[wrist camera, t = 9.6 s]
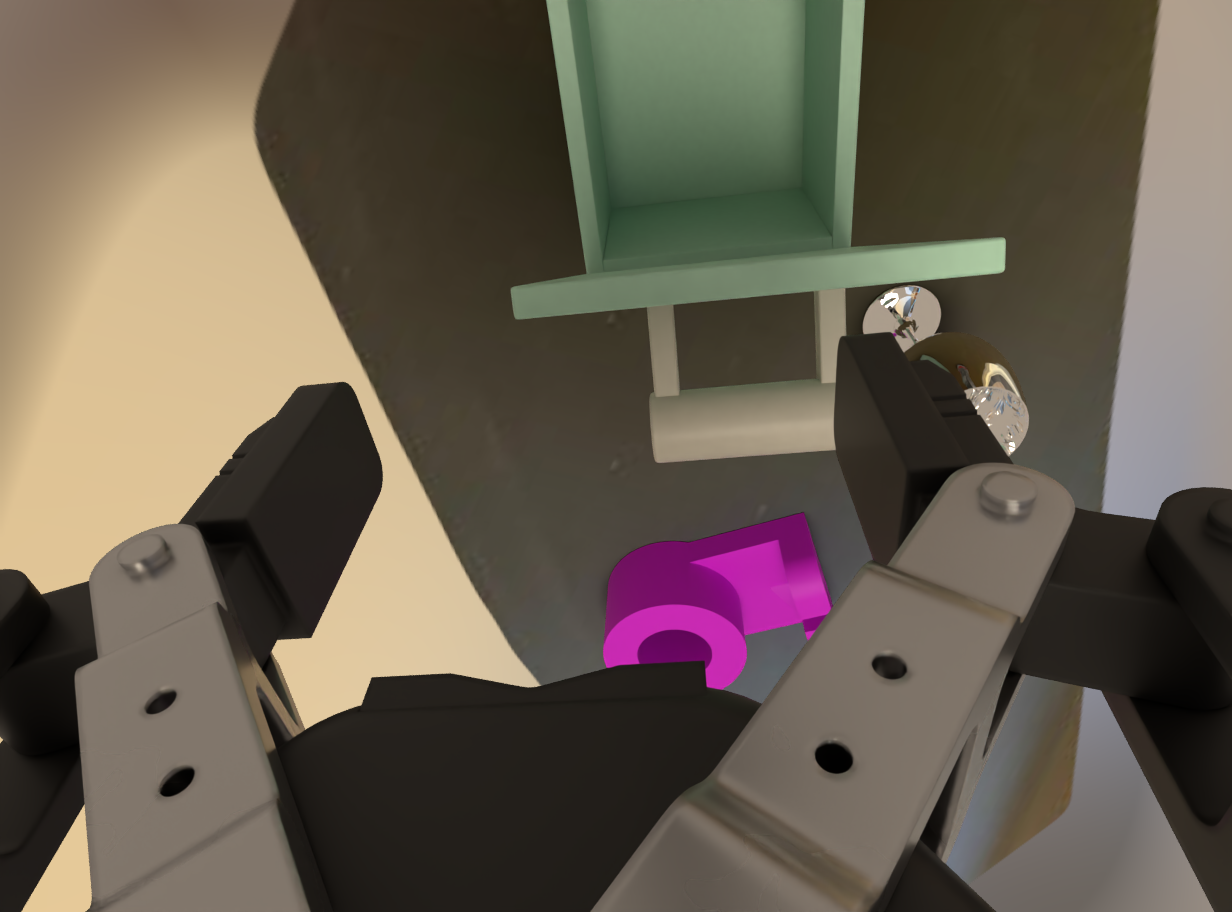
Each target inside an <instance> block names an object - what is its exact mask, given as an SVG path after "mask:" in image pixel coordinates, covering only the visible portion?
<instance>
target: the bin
mask: <svg viewBox="0 0 1232 912" xmlns="http://www.w3.org/2000/svg"><path fill="white" fill-rule="evenodd" d="M546 2H547V9H548V16H549V22H550V29H551V36H552V43H553V49H554V56H555V63H556V69H557V76H558V83H559V90H560V96H561V103H562V110H563V117H564V123H565V130H566V137H567V144H568V150H569V157H570V164H571V170H572V177H573V184H574V191H575V197H576V204H577V211H578V218H579V224H580V231H581V238H582V245H583V251H584V258H585V265H586V271H587V274H591V273H601V272H611V271H621V270H631V269H640V268H650V267H660V266H670V265H680V264H690V263H699V262H709V261H719V260H729V259H739V258H748V257H758V256H768V255H778V254H788V253H798V252H807V251H817V250H827V249H837V248H847V247H851V230H852V213H853V196H854V179H855V161H856V144H857V127H858V110H859V93H860V76H861V58H862V41H863V24H864V7H865V0H546Z"/></svg>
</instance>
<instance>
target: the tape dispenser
mask: <svg viewBox="0 0 1232 912" xmlns="http://www.w3.org/2000/svg"><path fill="white" fill-rule="evenodd" d="M832 607H833V605H832V601H831V597H830V594H829V591H828V587H827V584H826V581H825V578H824V575H823V572H822V568H821V565H820V562H819V559H818V556H817V553H816V549H815V546H814V543H813V540H812V537H811V534H810V531H809V527H808V524H807V521H806V518H805V515H804V513H800V514H796V515H792V516H788V517H785V518H781V519H777V520H773V521H769V522H766V523H762V524H758V525H754V526H750V527H746V528H743V529H739V530H735V531H731V532H727V533H724V534H720V535H716V536H712V537H708V538H704V539H701V540H697V541H693V542H689V543H688V542H678V541H668V542H659V543H654V544H650V545H646V546H644V547H641V548H639V549H637V550H635V551H633V552H631V553H629V554H628V555H627V556H625V557H624V558H623V559H622V560H621V561H620V562H619V563H618V564H617V565H616V567H615V568H614V570H613V571H612V573H611V576H610V579H609V583H608V595H607V608H606V622H605V636H604V649H603V655H604V661H605V664H606V667H607V668H610V667H614V666H617V665H627V664H646V663H666V662H686V661H705V671H706V683H707V687H710V688H716V689H721V690H722V689H723V688H725V687H726V686H728V685H729V684H730V683H732V682H733V681H734V680H735V679H736V678H737V677H738V675H739V674H740V673H741V671H742V669H743V667H744V665H745V662H746V657H747V649H746V642H745V635H747V634H752V633H756V632H761V631H765V630H769V629H774V628H778V627H783V626H787V625H792V624H796V623H800V622H803V625H804V630H805V634H806V637H807V639H808V640H809V639H810V637H811V636H812V635H813V633H814V632H815V630H816V629H817V628H818V626H819V625H820V624H821V622H822V621H823V619H824V618H825V617H826V615H827V614H828V613H829V611H830V610H831V608H832Z"/></svg>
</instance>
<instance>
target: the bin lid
mask: <svg viewBox="0 0 1232 912" xmlns="http://www.w3.org/2000/svg"><path fill="white" fill-rule="evenodd" d="M1005 247H1006V241H1005V238H1002V237H997V238H982V239H967V240H951V241H936V242H921V243H906V244H890V245H875V246H860V247H847V248H837V249H827V250H817V251H807V252H798V253H788V254H778V255H768V256H758V257H748V258H739V259H729V260H719V261H709V262H699V263H690V264H680V265H670V266H660V267H650V268H640V269H631V270H621V271H611V272H601V273H591V274H584V275H578V276H572V277H567V278H561V279H555V280H549V281H543V282H537V283H532V284H526V285H520V286H514V287H512V288H511V296H512V304H513V312H514V317H515V318H516V319H529V318H539V317H549V316H560V315H570V314H580V313H591V312H601V311H612V310H622V309H632V308H643V307H647V314H648V326H649V337H650V348H651V360H652V371H653V383H654V392H653V393H651V395H650V423H651V436H652V445H653V453H654V459H655V461H656V462H658V463H663V462H677V461H690V460H704V459H717V458H731V457H744V456H758V455H771V454H785V453H798V452H811V451H825V450H836V448H835V441H834V403H835V385H836V366H837V349H838V343H839V339H840V337H841V336H846V305H845V288H850V287H861V286H871V285H882V284H892V283H902V282H913V281H923V280H934V279H944V278H954V277H965V276H975V275H985V274H996V273H1001V272H1003V271H1004V269H1005ZM809 291H814V306H815V337H816V369H817V379H807V380H795V381H784V382H772V383H760V384H748V385H736V386H724V387H712V388H700V389H689V390H680V385H679V373H678V360H677V347H676V334H675V322H674V309H673V305H674V304H684V303H695V302H705V301H715V300H726V299H736V298H747V297H757V296H767V295H778V294H788V293H799V292H809Z"/></svg>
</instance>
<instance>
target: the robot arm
mask: <svg viewBox="0 0 1232 912" xmlns="http://www.w3.org/2000/svg"><path fill="white" fill-rule="evenodd" d="M966 395H967V394H966V393H965V391H964V390H963V389H962V387H961V386H960V384H959V383H958V381H957V380H956V378H955V377H954V375H952V374H951V373H949V372H947V371H946V370H944V369H943V368H941V367H939V366H938V365H936V364H934V363H933V362H931V361H929V360H918V361H909V360H908V359H907V357H906V355H905V354H904V352H903V350H902V349H901V347H900V345H899V343H898V342H897V340H896V338H895V337H894V335H893V334H892V333H891V332H880V333H870V334H859V335H849V336H841V337H840V339H839V343H838V349H837V366H836V385H835V403H834V441H835V448H836V453H837V457H838V461H839V463H840V466H841V469H842V472H843V475H844V478H845V481H846V483H847V486H848V489H849V492H850V495H851V498H852V500H853V503H854V506H855V509H856V512H857V515H858V517H859V520H860V523H861V526H862V529H863V532H864V534H865V537H866V540H867V543H868V546H869V549H870V552H871V554H872V557H873V560H874V561H873V560H871V561H869V562H867V563H866V564H865V565H864V566H863V567H862V568H861V569H860V570H859V571H858V573H857V574H856V575H855V577H854V578H853V580H852V581H851V582H850V584H849V585H848V586H847V588H846V589H845V591H844V592H843V593H842V595H841V596H840V597H839V599H838V600H837V602H836V603H835V604H834V606H833V607H832V608H831V610H830V611H829V613H828V614H827V615H826V617H825V618H824V619H823V621H822V622H821V624H820V625H819V626H818V628H817V629H816V630H815V632H814V633H813V635H812V636H811V637H810V639H809V640H808V641H807V643H806V644H805V646H804V647H803V648H802V650H801V651H800V652H799V654H798V655H797V657H796V658H795V659H794V661H793V662H792V663H791V665H790V666H789V668H788V669H787V670H786V672H785V673H784V674H783V676H782V677H781V679H780V680H779V681H778V683H777V684H776V685H775V687H774V688H773V690H772V691H771V692H770V694H769V695H768V696H767V698H766V699H765V701H764V702H763V703H762V704H761V703H759V702H756V701H754V700H752V699H749V698H747V697H745V696H742V695H738V694H735V693H732V692H728V691H725V690H721V689H716V688H710V687H707V683H706V671H705V661H686V662H666V663H646V664H627V665H617V666H614V667H610V668H606V669H603V670H599V671H595V672H591V673H588V674H584V675H580V676H576V677H573V678H569V679H565V680H561V681H558V682H554V683H550V684H546V685H543V686H538V687H531V688H530V687H529V688H527V687H520V686H514V685H509V684H504V683H499V682H494V681H488V680H483V679H477V678H472V677H466V676H462V675H456V674H451V673H450V674H430V675H413V676H412V675H410V676H390V677H372V678H371V681H370V684H369V687H368V689H367V692H366V694H365V697H364V700H363V703H362V705H361V706H357V707H354V708H352V709H348V710H346V711H343V712H340V713H338V714H335V715H333V716H331V717H329V718H327V719H325V720H323V721H320V722H318V723H316V724H314V725H313V726H311V727H309V728H308V729H306V730H305V728H304V726H303V723H302V721H301V718H300V716H299V713H298V711H297V708H296V706H295V703H294V701H293V698H292V696H291V694H290V691H289V688H288V686H287V683H286V681H285V678H284V676H283V673H282V671H281V668H280V666H279V664H278V662H277V661H276V659H275V657H274V656H273V654H272V652H271V651H272V649H273V647H274V645H275V643H276V641H277V640H281V639H299V638H311V637H312V635H313V633H314V631H315V628H316V627H317V624H318V622H319V620H320V618H321V616H322V614H323V612H324V610H325V608H326V605H327V604H328V601H329V599H330V597H331V595H332V593H333V591H334V589H335V587H336V585H337V583H338V580H339V578H340V576H341V574H342V572H343V570H344V568H345V566H346V564H347V562H348V560H349V557H350V555H351V553H352V551H353V549H354V547H355V545H356V543H357V540H358V538H359V536H360V534H361V532H362V530H363V528H364V526H365V524H366V522H367V519H368V518H369V515H370V513H371V511H372V509H373V507H374V505H375V503H376V501H377V499H378V497H379V494H380V492H381V488H382V481H383V472H382V464H381V460H380V456H379V454H378V451H377V448H376V446H375V443H374V441H373V438H372V435H371V433H370V430H369V427H368V425H367V422H366V420H365V417H364V414H363V412H362V409H361V407H360V404H359V401H358V399H357V396H356V394H355V392H354V390H353V389H352V387H351V386H350V385H349V384H348V383H346V382H338V383H327V384H317V385H307V386H300V387H298V388H297V389H296V390H295V391H294V393H293V394H292V395H291V397H290V398H289V399H288V401H287V402H286V403H285V405H284V406H283V407H282V408H281V410H280V411H279V412H278V414H277V415H276V416H275V417H273V418H272V419H270V420H269V421H267V422H266V423H265V424H263V425H262V426H260V427H259V428H258V429H256V430H255V431H253V432H252V433H251V434H249V435H248V436H247V437H246V438H245V440H244V441H243V442H242V444H241V445H240V446H239V447H238V449H237V450H236V451H235V452H234V454H233V455H232V456H233V459H229V460H228V461H227V463H226V464H225V465H224V466H223V468H222V469H221V470H220V475H219V476H215V478H214V479H213V480H212V482H211V483H210V484H209V485H208V487H207V488H206V489H205V490H204V492H203V493H202V494H201V495H200V497H199V498H198V499H197V500H196V502H195V503H194V504H193V506H192V507H191V508H190V509H189V511H188V512H187V513H186V515H185V516H184V517H183V518H182V519H181V521H180V522H179V523H178V524H170V525H164V526H159V527H156V528H152V529H149V530H147V531H144V532H141V533H139V534H137V535H135V536H133V537H131V538H129V539H127V540H126V541H124V542H122V543H121V544H119V545H118V546H116V547H115V548H113V549H112V550H111V551H109V552H108V553H107V554H106V555H105V556H104V557H103V558H102V559H101V560H100V561H99V562H98V564H96V566H95V567H94V569H93V571H92V572H91V575H90V578H89V581H87V582H84V583H81V584H77V585H73V586H70V587H66V588H63V589H59V590H56V591H52V592H49V593H45V594H42V595H41V594H40V592H39V591H38V590H37V589H36V587H35V586H34V585H33V584H32V583H31V581H30V580H29V579H28V578H27V576H26V575H25V574H23V573H22V572H21V571H18V570H12V569H4V570H0V737H1V738H2V739H3V741H2V742H1V743H0V912H21V911H22V910H23V908H24V906H25V904H26V902H27V901H28V899H29V897H30V896H31V894H32V892H33V891H34V889H35V887H36V886H37V884H38V882H39V881H40V879H41V877H42V875H43V874H44V872H45V870H46V868H47V867H48V865H49V863H50V862H51V860H52V858H53V857H54V855H55V853H56V852H57V850H58V848H59V847H60V845H61V843H62V841H63V840H64V838H65V836H66V835H67V833H68V831H69V830H70V828H71V826H72V824H73V823H74V821H75V819H76V817H77V816H78V814H79V812H80V811H81V809H82V807H83V806H84V804H85V814H86V827H87V839H88V852H89V863H90V876H91V889H92V901H91V906H90V908H89V909H88V910H87V911H86V912H996V911H995V910H994V909H993V908H992V907H991V906H990V905H989V904H987V903H986V902H985V901H984V900H983V899H982V898H981V897H980V896H979V895H978V894H977V893H976V892H975V891H974V890H973V889H971V887H969V886H968V885H967V884H966V883H965V882H964V881H963V880H962V879H961V878H960V877H959V876H958V875H957V874H956V873H955V872H954V871H953V870H951V869H950V868H949V867H948V866H947V865H946V862H947V859H948V857H949V855H950V853H951V850H952V848H953V845H954V843H955V841H956V838H957V836H958V833H959V831H960V828H961V826H962V823H963V820H964V818H965V815H966V812H967V809H968V806H969V804H970V801H971V798H972V795H973V793H974V790H975V788H976V785H977V783H978V780H979V778H980V776H981V773H982V771H983V769H984V767H985V764H986V762H987V760H988V758H989V755H990V753H991V751H992V749H993V746H994V744H995V742H996V740H997V737H998V735H999V733H1000V731H1001V729H1002V726H1003V724H1004V722H1005V720H1006V717H1007V715H1008V713H1009V711H1010V708H1011V706H1012V704H1013V702H1014V699H1015V697H1016V695H1017V693H1018V691H1019V688H1020V686H1021V684H1022V682H1023V679H1024V677H1025V675H1030V676H1035V677H1039V678H1044V679H1049V680H1054V681H1059V682H1063V683H1068V684H1073V685H1078V686H1083V687H1088V688H1092V689H1097V690H1101V691H1102V693H1103V695H1104V697H1105V699H1106V701H1107V703H1108V705H1109V707H1110V709H1111V711H1112V712H1113V714H1114V716H1115V718H1116V720H1117V722H1118V724H1119V726H1120V728H1121V730H1122V732H1123V734H1124V736H1125V738H1126V740H1127V742H1128V744H1129V746H1130V748H1131V750H1132V752H1133V754H1134V756H1135V757H1136V759H1137V761H1138V763H1139V765H1140V767H1141V769H1142V771H1143V773H1144V775H1145V777H1146V779H1147V781H1148V783H1149V785H1150V787H1151V789H1152V791H1153V793H1154V795H1155V797H1156V798H1157V801H1158V802H1159V804H1160V806H1161V808H1162V810H1163V812H1164V814H1165V816H1166V818H1167V820H1168V822H1169V824H1170V826H1171V828H1172V830H1173V832H1174V834H1175V836H1176V838H1177V839H1178V842H1179V843H1180V846H1181V847H1182V849H1183V851H1184V853H1185V855H1186V857H1187V859H1188V861H1189V863H1190V865H1191V867H1192V869H1193V871H1194V873H1195V875H1196V877H1197V879H1198V881H1199V883H1200V884H1201V886H1202V889H1203V890H1204V892H1205V894H1206V896H1207V898H1208V900H1209V902H1210V904H1211V906H1212V908H1213V910H1214V912H1232V490H1231V489H1224V488H1206V487H1202V488H1191V489H1186V490H1182V491H1179V492H1176V493H1174V494H1172V495H1170V496H1169V497H1167V498H1166V499H1165V501H1164V502H1163V503H1162V505H1161V508H1160V510H1159V512H1158V515H1157V518H1156V520H1151V519H1143V518H1136V517H1128V516H1121V515H1113V514H1105V513H1099V512H1093V511H1087V510H1083V509H1079V508H1075V504H1074V502H1073V499H1072V497H1071V496H1070V494H1069V493H1068V491H1067V490H1066V489H1065V488H1064V487H1063V486H1062V485H1061V484H1059V483H1058V482H1057V481H1055V480H1054V479H1052V478H1050V477H1049V476H1047V475H1045V474H1043V473H1040V472H1038V471H1036V470H1033V469H1030V468H1027V467H1023V466H1018V465H1014V464H1013V463H1012V461H1011V460H1010V458H1009V457H1008V455H1007V454H1006V452H1005V451H1004V449H1003V448H1002V446H1001V445H1000V443H999V442H998V440H997V439H996V437H995V436H994V434H993V433H992V431H991V430H990V429H989V427H988V426H987V424H986V423H985V421H984V420H983V418H982V417H981V415H978V414H977V409H976V408H975V406H974V405H973V403H972V402H971V400H970V399H969V398H968V399H967V397H966Z"/></svg>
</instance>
